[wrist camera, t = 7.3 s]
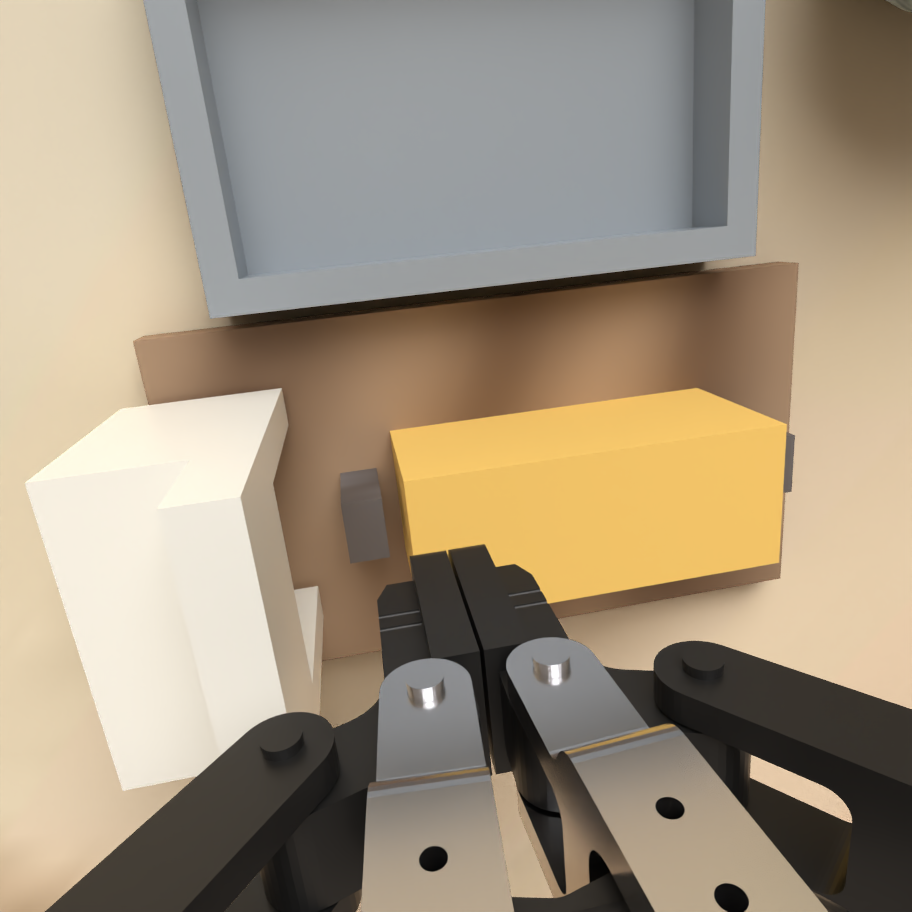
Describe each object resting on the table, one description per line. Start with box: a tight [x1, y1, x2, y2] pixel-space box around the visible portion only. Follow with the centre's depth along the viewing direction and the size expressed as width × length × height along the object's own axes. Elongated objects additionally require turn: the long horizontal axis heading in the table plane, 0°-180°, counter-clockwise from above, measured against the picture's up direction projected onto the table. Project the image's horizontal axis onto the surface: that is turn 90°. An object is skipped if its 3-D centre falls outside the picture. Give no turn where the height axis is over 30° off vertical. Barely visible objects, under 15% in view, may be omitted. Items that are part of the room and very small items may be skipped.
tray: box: [143, 0, 765, 319], centre depth 16 cm, size 14×9×2 cm
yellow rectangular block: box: [390, 388, 787, 603], centre depth 18 cm, size 9×4×4 cm, turn 96°
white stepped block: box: [25, 388, 324, 791], centre depth 15 cm, size 4×7×8 cm, turn 6°
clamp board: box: [133, 262, 798, 661], centre depth 19 cm, size 18×10×3 cm, turn 96°
